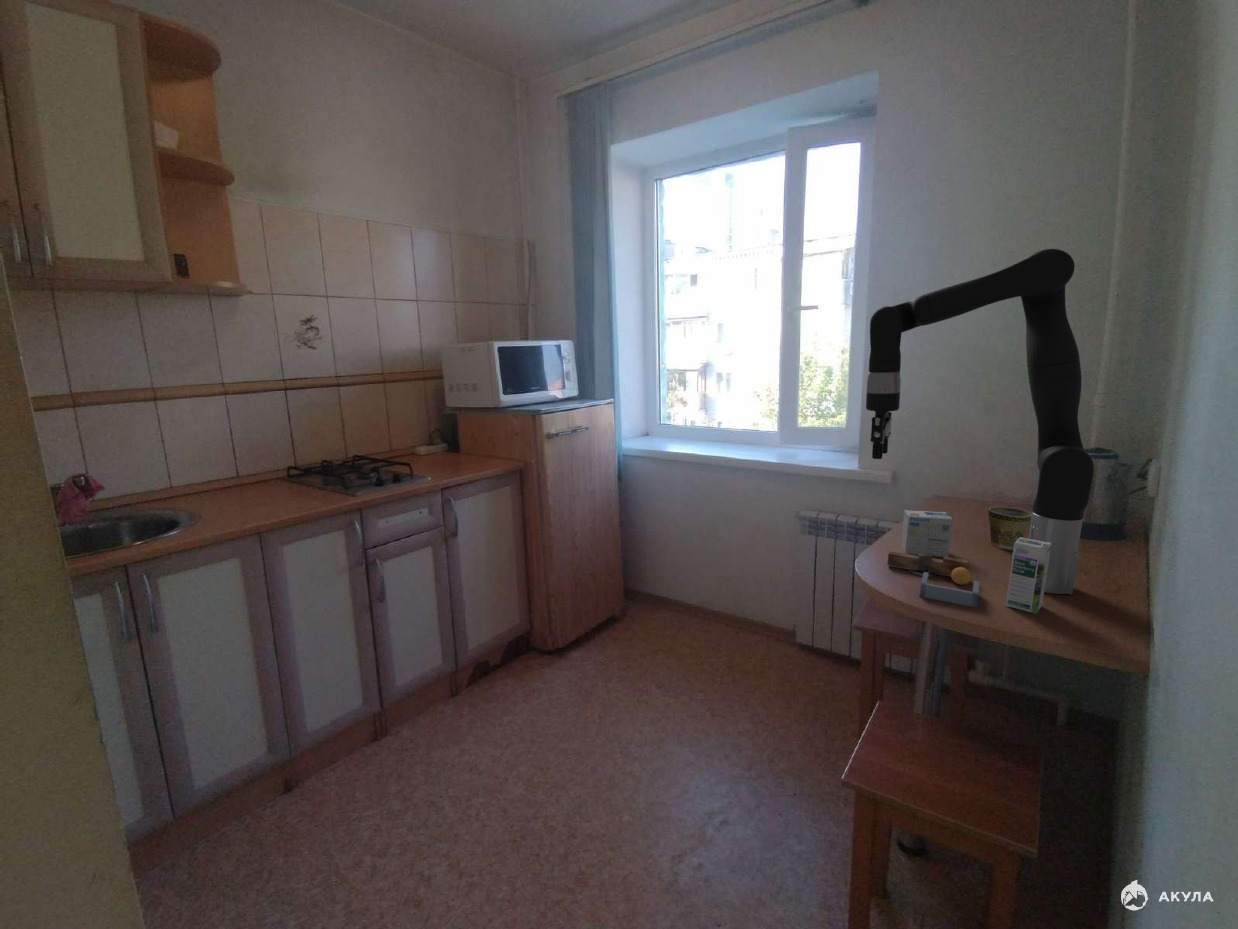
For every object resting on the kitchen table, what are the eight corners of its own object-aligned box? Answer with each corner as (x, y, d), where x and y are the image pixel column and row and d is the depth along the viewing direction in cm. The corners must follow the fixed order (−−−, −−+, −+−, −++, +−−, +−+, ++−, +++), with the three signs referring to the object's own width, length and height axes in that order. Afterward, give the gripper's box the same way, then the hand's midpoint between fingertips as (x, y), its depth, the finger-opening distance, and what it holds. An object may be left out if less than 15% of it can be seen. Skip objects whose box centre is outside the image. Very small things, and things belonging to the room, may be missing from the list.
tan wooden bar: (965, 575, 139) (967, 559, 139) (965, 579, 137) (967, 563, 136) (888, 561, 148) (890, 546, 147) (887, 565, 146) (888, 550, 145)
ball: (970, 582, 137) (972, 566, 136) (969, 588, 133) (971, 572, 132) (950, 579, 139) (952, 563, 138) (949, 585, 135) (951, 569, 134)
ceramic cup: (1025, 555, 154) (1031, 518, 152) (982, 547, 160) (986, 512, 158) (1028, 541, 164) (1033, 507, 162) (987, 535, 170) (991, 502, 168)
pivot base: (937, 570, 144) (937, 569, 144) (936, 578, 139) (936, 577, 139) (910, 565, 147) (910, 564, 147) (908, 573, 142) (908, 572, 142)
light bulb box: (942, 549, 159) (946, 511, 156) (949, 558, 152) (953, 518, 150) (899, 546, 161) (903, 508, 159) (904, 554, 155) (908, 515, 153)
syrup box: (1004, 606, 124) (1013, 542, 121) (1011, 598, 128) (1020, 535, 125) (1036, 615, 120) (1046, 548, 117) (1042, 606, 124) (1052, 541, 121)
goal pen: (977, 594, 130) (979, 581, 130) (977, 607, 124) (978, 594, 123) (922, 584, 136) (923, 571, 135) (919, 596, 129) (920, 583, 129)
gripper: (896, 393, 134) (892, 462, 137) (903, 388, 146) (900, 452, 149) (861, 392, 138) (858, 459, 141) (871, 388, 150) (868, 450, 153)
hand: (879, 455), depth 145 cm, fingers open, 8 cm apart
